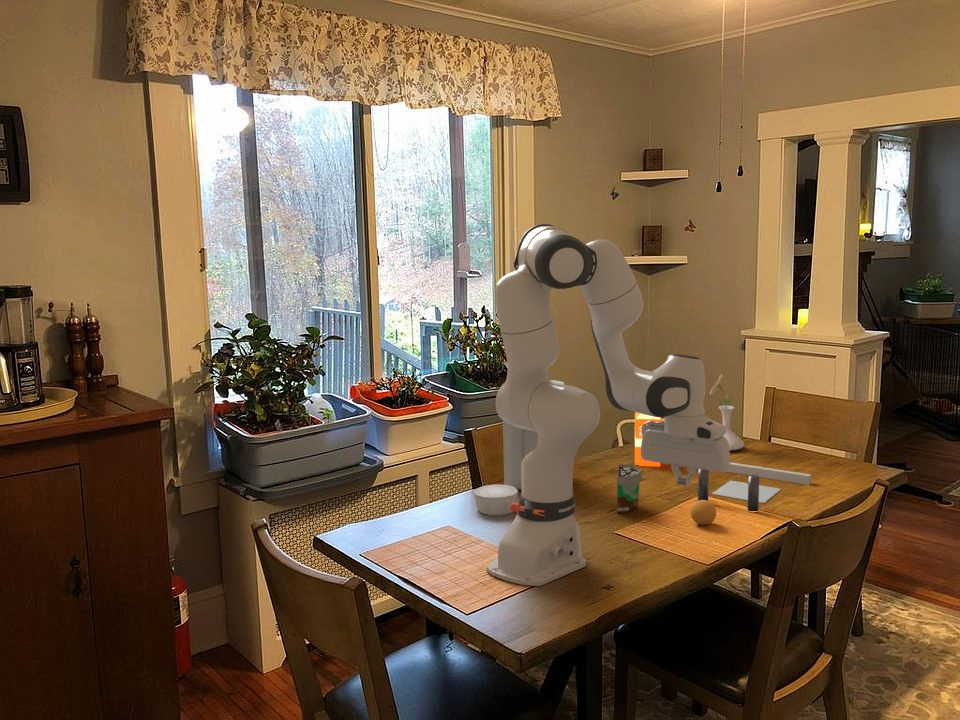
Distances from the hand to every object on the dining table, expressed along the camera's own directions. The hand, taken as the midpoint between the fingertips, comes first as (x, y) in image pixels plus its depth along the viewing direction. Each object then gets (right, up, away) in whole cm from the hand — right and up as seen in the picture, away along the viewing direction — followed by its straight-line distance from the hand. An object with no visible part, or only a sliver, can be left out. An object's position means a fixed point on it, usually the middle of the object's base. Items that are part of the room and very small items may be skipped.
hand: (683, 484), depth 184 cm
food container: (-8, -10, +24) cm, 27 cm away
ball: (+8, -8, +11) cm, 16 cm away
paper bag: (-28, -7, +46) cm, 54 cm away
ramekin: (-42, -11, +26) cm, 50 cm away
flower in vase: (+33, -1, +78) cm, 85 cm away
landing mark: (+26, -7, +35) cm, 44 cm away
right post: (+22, -10, +20) cm, 32 cm away
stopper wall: (+36, -5, +47) cm, 59 cm away
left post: (+12, -9, +28) cm, 32 cm away
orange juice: (+5, -3, +65) cm, 66 cm away
